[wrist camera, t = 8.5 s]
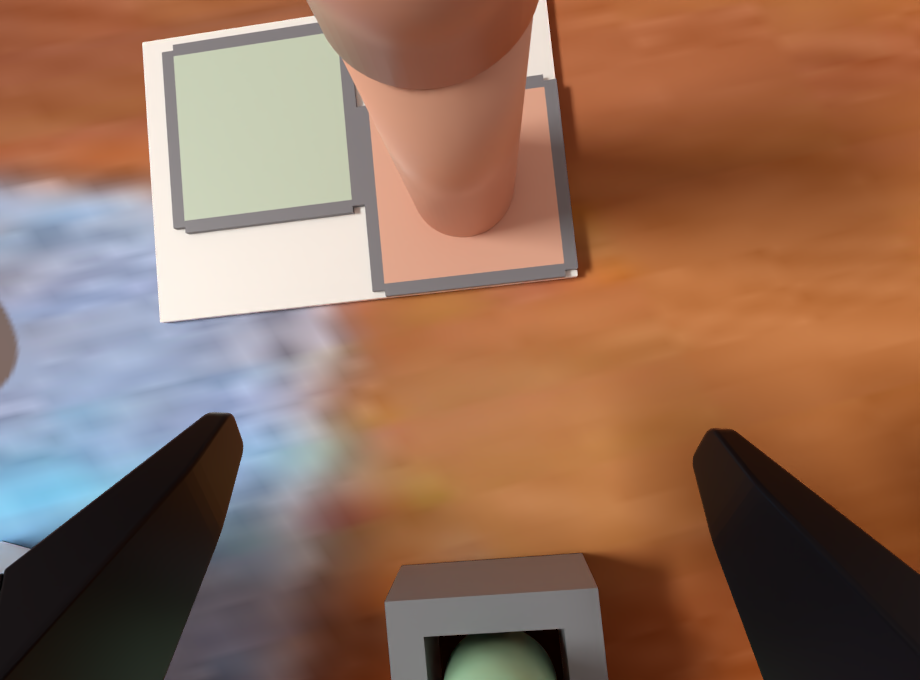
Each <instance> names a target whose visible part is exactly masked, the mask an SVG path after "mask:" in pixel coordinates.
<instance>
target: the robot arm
mask: <svg viewBox="0 0 920 680" xmlns="http://www.w3.org/2000/svg"><path fill="white" fill-rule="evenodd" d="M242 453H243V441H242V438H241V435H240V432H239V429H238V427H237V424H236V421H235V418H234V416H233V415H232V414H230V413H217V412H211V413H207V414H205V415H204V416H202V417H201V418H200V419H199V420H197V421H196V422H195V423H193V424H192V425H191V426H190V427H188V428H187V429H186V430H184V431H183V432H182V433H180V434H179V435H178V436H177V437H175V438H174V439H173V440H171V441H170V442H169V443H168V444H166V445H165V446H164V447H162V448H161V449H160V450H158V451H157V452H156V453H155V454H153V455H152V456H151V457H149V458H148V459H147V460H146V461H144V462H143V463H142V464H140V465H139V466H138V467H136V468H135V469H134V470H133V471H131V472H130V473H129V474H127V475H126V476H125V477H123V478H122V479H121V480H120V481H118V482H117V483H116V484H114V485H113V486H112V487H111V488H109V489H108V490H107V491H105V492H104V493H103V494H101V495H100V496H99V497H98V498H96V499H95V500H94V501H92V502H91V503H90V504H89V505H87V506H86V507H85V508H83V509H82V510H81V511H79V512H78V513H77V514H76V515H74V516H73V517H72V518H70V519H69V520H68V521H67V522H65V523H64V524H63V525H61V526H60V527H59V528H57V529H56V530H55V531H54V532H52V533H51V534H50V535H48V536H47V537H46V538H45V539H43V540H42V541H41V542H39V543H38V544H37V545H35V546H34V547H33V548H32V549H30V550H29V551H28V552H26V553H25V554H24V555H23V556H21V557H20V558H19V559H17V560H16V561H15V562H13V563H12V564H11V565H10V566H8V567H7V568H6V569H5V570H4V574H3V573H0V680H164V678H165V675H166V673H167V670H168V668H169V665H170V662H171V660H172V657H173V655H174V652H175V650H176V647H177V645H178V642H179V639H180V637H181V634H182V632H183V629H184V627H185V624H186V621H187V619H188V616H189V614H190V611H191V609H192V606H193V604H194V601H195V598H196V596H197V593H198V591H199V588H200V586H201V583H202V581H203V578H204V575H205V573H206V570H207V568H208V565H209V563H210V560H211V558H212V555H213V552H214V550H215V547H216V545H217V542H218V539H219V537H220V534H221V531H222V528H223V524H224V521H225V517H226V514H227V510H228V506H229V502H230V499H231V495H232V491H233V487H234V484H235V480H236V476H237V472H238V469H239V465H240V461H241V457H242ZM693 469H694V472H695V476H696V480H697V484H698V488H699V492H700V496H701V500H702V504H703V508H704V512H705V515H706V519H707V523H708V527H709V531H710V534H711V538H712V541H713V544H714V547H715V550H716V553H717V556H718V558H719V561H720V564H721V566H722V569H723V572H724V574H725V577H726V580H727V583H728V585H729V588H730V591H731V593H732V596H733V599H734V601H735V604H736V607H737V609H738V612H739V615H740V617H741V620H742V623H743V626H744V628H745V631H746V634H747V636H748V639H749V642H750V644H751V647H752V650H753V652H754V655H755V658H756V660H757V663H758V666H759V669H760V671H761V674H762V677H763V679H764V680H920V574H918V573H917V572H916V571H915V570H913V569H912V568H911V567H909V566H908V565H907V564H906V563H904V562H903V561H902V560H900V559H899V558H898V557H897V556H895V555H894V554H893V553H891V552H890V551H889V550H888V549H886V548H885V547H884V546H882V545H881V544H880V543H879V542H877V541H876V540H875V539H873V538H872V537H871V536H870V535H868V534H867V533H866V532H864V531H863V530H862V529H861V528H859V527H858V526H857V525H855V524H854V523H853V522H852V521H850V520H849V519H848V518H846V517H845V516H844V515H843V514H841V513H840V512H839V511H837V510H836V509H835V508H834V507H832V506H831V505H830V504H828V503H827V502H826V501H825V500H823V499H822V498H821V497H819V496H818V495H817V494H816V493H814V492H813V491H812V490H810V489H809V488H808V487H807V486H805V485H804V484H803V483H801V482H800V481H799V480H798V479H796V478H795V477H794V476H792V475H791V474H790V473H789V472H787V471H786V470H785V469H783V468H782V467H781V466H780V465H778V464H777V463H776V462H774V461H773V460H772V459H771V458H769V457H768V456H767V455H765V454H764V453H763V452H762V451H760V450H759V449H758V448H756V447H755V446H754V445H753V444H751V443H750V442H749V441H747V440H746V439H745V438H744V437H742V436H741V435H740V434H738V433H737V432H736V431H734V430H731V429H720V428H712V429H710V430H708V431H707V432H706V434H705V435H704V437H703V439H702V441H701V443H700V444H699V446H698V448H697V450H696V452H695V454H694V456H693Z"/></svg>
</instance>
